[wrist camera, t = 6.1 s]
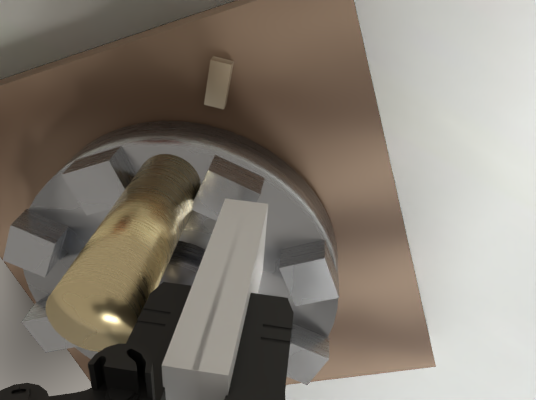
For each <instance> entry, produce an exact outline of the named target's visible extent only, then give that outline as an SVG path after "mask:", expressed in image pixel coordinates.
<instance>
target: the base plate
mask: <svg viewBox="0 0 536 400" xmlns="http://www.w3.org/2000/svg"><path fill="white" fill-rule="evenodd" d="M155 121H186V122H192V123H199V124H206V125H210V126H213V127H217V128H221V129H224V130H228V131H231V132H233V133H235V134H238V135H240V136H243V137H245V138H248V139H250V140H252V141H254V142H255V143H257V144H259V145H261V146H263V147H264V148H266V149H268V150H270V151H271V152H272V153H274V154H275V155H277V156H278V157H279V158H281V159H282V160H284V161H285V162H286V163H287V164H289V165H290V166H291V167H292V168H293V169H294V170H295V171H296V172H297V173H298V174H299V175H300V176H301V177H302V178H303V179H304V180H305V181H306V182H307V184H308V185H309V186H310V187H311V188H312V190H313V191H314V192H315V194H316V195H317V197H318V198H319V200H320V202H321V203H322V205H323V206H324V208H325V210H326V212H327V215H328V217H329V219H330V222H331V224H332V227H333V231H334V234H335V238H336V242H337V253H338V277H339V298H338V307H337V313H336V317H335V321H334V324H333V327H332V329H331V331H330V333H329V336H328V337H329V360H328V361H327V362H326V364H325V365H324V366H323V367H322V368H321V370H320V371H319V372H318V373H317V374H316V375H315V377H314V378H313V379H312V380H311V381H310V382H313V381H321V380H329V379H338V378H346V377H354V376H362V375H371V374H379V373H387V372H395V371H403V370H412V369H420V368H428V367H436V365H435V361H434V356H433V352H432V347H431V343H430V338H429V334H428V329H427V325H426V320H425V316H424V311H423V307H422V302H421V298H420V294H419V289H418V285H417V280H416V276H415V271H414V267H413V262H412V258H411V253H410V249H409V244H408V240H407V235H406V231H405V227H404V222H403V218H402V213H401V209H400V204H399V200H398V195H397V191H396V186H395V182H394V177H393V173H392V169H391V164H390V160H389V155H388V151H387V146H386V142H385V137H384V133H383V128H382V124H381V119H380V115H379V110H378V106H377V102H376V97H375V93H374V88H373V84H372V79H371V75H370V70H369V66H368V61H367V57H366V52H365V48H364V43H363V39H362V35H361V30H360V26H359V21H358V17H357V12H356V8H355V3H354V0H236V1H233V2H230V3H227V4H224V5H221V6H218V7H215V8H212V9H209V10H206V11H203V12H200V13H197V14H194V15H191V16H189V17H186V18H183V19H180V20H177V21H174V22H171V23H168V24H165V25H162V26H159V27H156V28H153V29H150V30H147V31H144V32H141V33H138V34H135V35H132V36H129V37H126V38H123V39H120V40H117V41H114V42H111V43H108V44H105V45H102V46H99V47H96V48H93V49H90V50H87V51H84V52H81V53H78V54H75V55H72V56H69V57H66V58H64V59H61V60H58V61H55V62H52V63H49V64H46V65H43V66H40V67H37V68H34V69H31V70H28V71H25V72H22V73H19V74H16V75H13V76H10V77H7V78H4V79H1V80H0V257H1V258H2V260H3V257H4V253H5V248H6V243H7V239H8V234H9V230H10V225H11V224H12V223H13V222H14V221H15V220H16V219H17V218H18V217H19V216H20V215H21V214H22V213H23V212H24V211H25V210H26V209H29V208H30V206H31V204H32V202H33V201H34V199H35V197H36V195H37V194H38V193H39V192H40V191H41V189H42V188H43V187H44V186H45V185H46V183H47V182H48V181H49V180H50V179H51V178H52V177H53V176H54V175H55V174H56V173H57V172H58V171H59V170H60V169H61V168H62V167H63V166H64V165H65V164H66V163H67V162H68V161H69V160H70V159H71V158H72V157H73V156H74V155H76V154H77V153H78V152H79V151H80V150H82V149H83V148H84V147H85V146H86V145H87V144H89V143H91V142H92V141H94V140H96V139H97V138H99V137H101V136H103V135H105V134H107V133H110V132H112V131H114V130H117V129H119V128H122V127H126V126H131V125H135V124H139V123H145V122H155ZM4 263H5V264H6V265H7V266H8V268H9V269H10V271H11V272H12V274H13V275H14V276H15V278H16V279H17V281H18V282H19V283H20V285H21V286H22V287H23V289H24V290H25V292H26V293H27V294H28V296H29V297H30V298H31V300H32V301H33V303H34V304H35V303H36V301H35V299H34V297H33V295H32V293H31V291H30V289H29V287H28V284H27V281H26V278H25V275H24V271H23V268H20V267H18V266H15V265H13V264H10V263H8V262H5V261H4ZM67 350H68V351H69V352H70V354H71V355H72V356H73V358H74V359H75V361H76V362H77V363H78V364H79V366H80V368H81V369H82V370H83V372H84V373H85V374H86V376H87V377H88V379H89V380H90V374H89V369H88V362H89V361H90V360H91V359H90V358H88V357H87V356H85V355H84V354H83V353H81V352H80V351H79V350H77V349H76V348H75V347H73V348H68V349H67ZM90 381H91V380H90ZM296 383H301V382H299V381H296V380H294V379H291V378H289V377H286V385H288V384H296Z"/></svg>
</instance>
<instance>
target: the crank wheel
mask: <svg viewBox="0 0 536 400" xmlns="http://www.w3.org/2000/svg"><path fill="white" fill-rule="evenodd" d="M225 199H233V200H241V201H249V202H257V203H265V204H268V214H267V226H266V237H265V249H264V261H263V272H262V276H261V281H260V286H259V291H258V294H264V295H271V296H278V297H285V298H288V300H289V303H290V305H291V308H292V310H293V312H294V314H293V323H292V331H291V341H290V350H289V359H288V368H287V377H289V378H291V379H294V380H296V381H299V382H301V383H303V384H306V385H308V384H309V383H310V381H311V380H312V379H313V378H314V377H315V375H316V374H317V373H318V372H319V371H320V370H321V368H322V367H323V366H324V365H325V364H326V362H327V361H328V360H329V337H328V336H329V333H330V331H331V329H332V327H333V324H334V321H335V317H336V313H337V307H338V298H339V277H338V253H337V242H336V238H335V234H334V231H333V227H332V224H331V222H330V219H329V217H328V215H327V212H326V210H325V208H324V206H323V205H322V203H321V202H320V200H319V198H318V197H317V195H316V194H315V192H314V191H313V190H312V188H311V187H310V186H309V185H308V184H307V182H306V181H305V180H304V179H303V178H302V177H301V176H300V175H299V174H298V173H297V172H296V171H295V170H294V169H293V168H292V167H291V166H290V165H289V164H287V163H286V162H285V161H284V160H282V159H281V158H279V157H278V156H277V155H275V154H274V153H272V152H271V151H270V150H268V149H266V148H264V147H263V146H261V145H259V144H257V143H255V142H254V141H252V140H250V139H248V138H245V137H243V136H240V135H238V134H235V133H233V132H231V131H228V130H224V129H221V128H217V127H213V126H210V125H206V124H199V123H192V122H186V121H155V122H145V123H139V124H135V125H131V126H126V127H122V128H119V129H117V130H114V131H112V132H110V133H107V134H105V135H103V136H101V137H99V138H97V139H96V140H94V141H92V142H91V143H89V144H87V145H86V146H85V147H84V148H83V149H82V150H80V151H79V152H78V153H77V154H76V155H74V156H73V157H72V158H71V159H70V160H69V161H68V162H67V163H66V164H65V165H64V166H63V167H62V168H61V169H60V170H59V171H58V172H57V173H56V174H55V175H54V176H53V177H52V178H51V179H50V180H49V181H48V182H47V183H46V185H45V186H44V187H43V188H42V189H41V191H40V192H39V193H38V194H37V195H36V197H35V199H34V201H33V202H32V204H31V206H30V208H29V209H26V210H25V211H24V212H23V213H22V214H21V215H20V216H19V217H18V218H17V219H16V220H15V221H14V222H13V223H12V224H11V225H10V230H9V234H8V239H7V243H6V248H5V253H4V257H3V261H5V262H8V263H10V264H13V265H15V266H18V267H20V268H23V271H24V275H25V278H26V281H27V284H28V287H29V289H30V291H31V293H32V295H33V297H34V299H35V301H36V303H35V304H34V305H33V307H32V308H31V310H30V311H29V313H28V314H27V315H26V316H25V318H24V319H23V320H22V324H23V325H24V326H25V327H26V329H27V330H28V331H29V332H30V334H31V335H32V336H33V337H34V339H35V340H36V341H37V342H38V344H39V345H40V346H41V347H42V348H43V350H44V351H45V352H51V351H57V350H62V349H68V348H73V347H75V348H76V349H77V350H79V351H80V352H81V353H83V354H84V355H85V356H87V357H88V358H90V359H92V358H93V356H94V355H95V354H96V353H98V352H100V351H101V350H103V349H104V348H106V347H109V346H112V345H116V344H126V342H127V340H128V338H129V336H130V334H131V332H132V330H133V328H134V326H135V324H136V323H137V320H138V317H139V315H140V313H141V311H143V307H144V305H145V303H146V301H147V299H148V297H149V295H150V293H151V292H152V291H153V290H155V289H156V288H157V287H158V286H159V285H160V284H162V283H163V282H169V283H176V284H183V285H190V286H192V284H193V282H194V279H195V277H196V274H197V271H198V269H199V266H200V263H201V261H202V258H203V256H204V253H205V250H206V248H207V245H208V242H209V240H210V237H211V235H212V232H213V229H214V227H215V224H216V221H217V219H218V216H219V214H220V211H221V208H222V206H223V203H224V200H225Z"/></svg>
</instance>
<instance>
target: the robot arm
mask: <svg viewBox="0 0 536 400" xmlns="http://www.w3.org/2000/svg"><path fill="white" fill-rule="evenodd" d="M267 214H268V204H265V203H257V202H249V201H241V200H233V199H225V200H224V203H223V206H222V208H221V211H220V214H219V216H218V219H217V221H216V224H215V227H214V229H213V232H212V235H211V237H210V240H209V242H208V245H207V248H206V250H205V253H204V256H203V258H202V261H201V263H200V266H199V269H198V271H197V274H196V277H195V279H194V282H193V284H192V286H190V285H183V284H176V283H169V282H163V283H162V284H160V285H159V286H158V287H157V288H156V289H155V290H153V291H152V292H151V293H150V295H149V297H148V299H147V301H146V303H145V305H144V307H143V311H141V313H140V315H139V317H138V320H137V323H136V324H135V326H134V328H133V330H132V332H131V334H130V336H129V338H128V340H127V342H126V344H116V345H112V346H109V347H106V348H104V349H103V350H101V351H100V352H98V353H96V354H95V355H94V356H93V358H92V359H91V360H90V361H89V362H88V369H89V374H90V380H91V385H92V388H90V389H88V390H85V391H81V392H77V393H71V394H64V395H57V396H48V393H47V391H46V390H44V389H43V388H42V387H40V386H39V385H35V384H30V383H24V384H16V385H13V386H10V387H8V388H5V389H3V390H1V391H0V400H285V386H286V377H287V368H288V359H289V350H290V341H291V331H292V323H293V314H294V312H293V310H292V308H291V305H290V303H289V300H288V298H285V297H278V296H271V295H264V294H258V291H259V286H260V281H261V276H262V272H263V261H264V249H265V237H266V226H267Z"/></svg>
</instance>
